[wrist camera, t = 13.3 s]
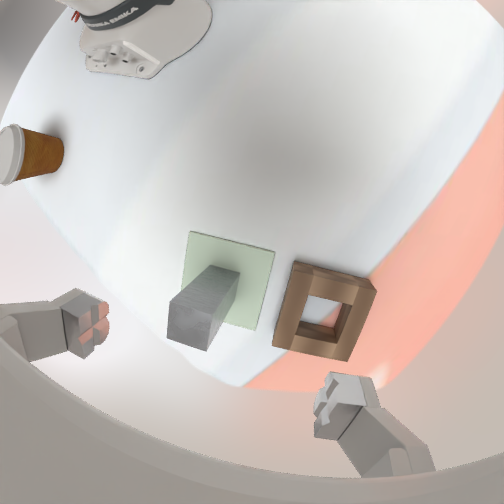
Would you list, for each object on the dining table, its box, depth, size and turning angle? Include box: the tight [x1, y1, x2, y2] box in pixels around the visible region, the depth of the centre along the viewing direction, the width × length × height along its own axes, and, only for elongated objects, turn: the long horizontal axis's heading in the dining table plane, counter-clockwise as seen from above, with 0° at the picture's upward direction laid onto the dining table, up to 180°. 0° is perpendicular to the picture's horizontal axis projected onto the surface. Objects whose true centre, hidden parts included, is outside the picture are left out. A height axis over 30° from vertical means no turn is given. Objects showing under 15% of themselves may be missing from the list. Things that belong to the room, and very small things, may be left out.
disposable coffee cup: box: [0, 124, 64, 186], centre depth 30 cm, size 10×10×12 cm
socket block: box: [272, 261, 377, 362], centre depth 32 cm, size 10×10×4 cm
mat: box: [181, 231, 275, 331], centre depth 35 cm, size 11×11×1 cm
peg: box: [167, 265, 240, 351], centre depth 29 cm, size 4×4×12 cm
